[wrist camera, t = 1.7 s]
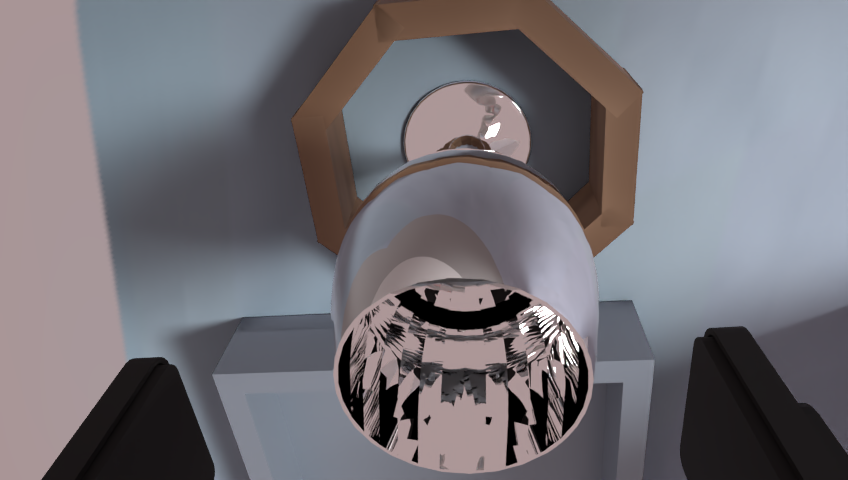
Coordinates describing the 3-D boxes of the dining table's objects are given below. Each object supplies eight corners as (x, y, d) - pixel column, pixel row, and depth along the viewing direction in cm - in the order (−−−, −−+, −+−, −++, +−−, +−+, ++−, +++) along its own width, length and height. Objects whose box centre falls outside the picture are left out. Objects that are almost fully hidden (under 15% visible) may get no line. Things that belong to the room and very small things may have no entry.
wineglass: (467, 22, 19) (461, 176, 9) (585, 143, 21) (696, 391, 11) (351, 145, 22) (239, 380, 11) (466, 244, 23) (461, 530, 13)
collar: (630, -35, 18) (652, -25, 16) (614, 263, 23) (628, 301, 21) (290, 0, 19) (267, 14, 17) (345, 277, 24) (333, 314, 22)
